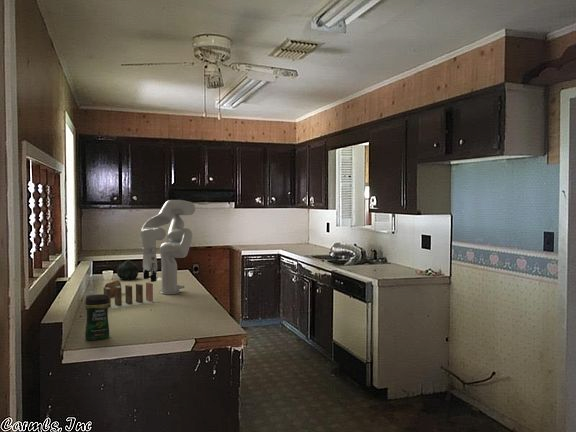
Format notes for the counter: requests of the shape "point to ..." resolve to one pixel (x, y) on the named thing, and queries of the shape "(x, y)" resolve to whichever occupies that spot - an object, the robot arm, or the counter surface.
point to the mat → (131, 304)
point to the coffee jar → (97, 317)
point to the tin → (113, 286)
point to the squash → (127, 270)
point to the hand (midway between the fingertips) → (149, 280)
